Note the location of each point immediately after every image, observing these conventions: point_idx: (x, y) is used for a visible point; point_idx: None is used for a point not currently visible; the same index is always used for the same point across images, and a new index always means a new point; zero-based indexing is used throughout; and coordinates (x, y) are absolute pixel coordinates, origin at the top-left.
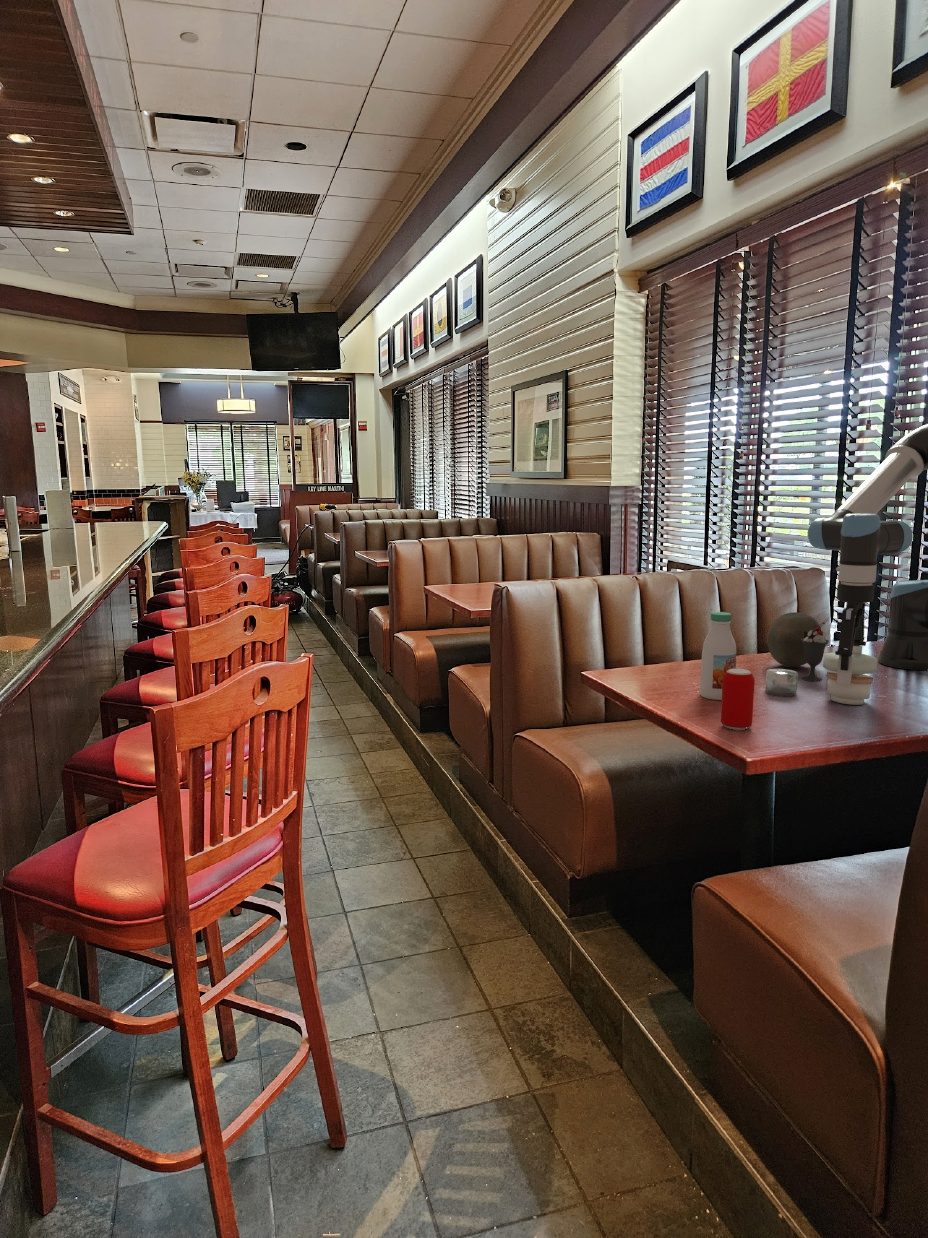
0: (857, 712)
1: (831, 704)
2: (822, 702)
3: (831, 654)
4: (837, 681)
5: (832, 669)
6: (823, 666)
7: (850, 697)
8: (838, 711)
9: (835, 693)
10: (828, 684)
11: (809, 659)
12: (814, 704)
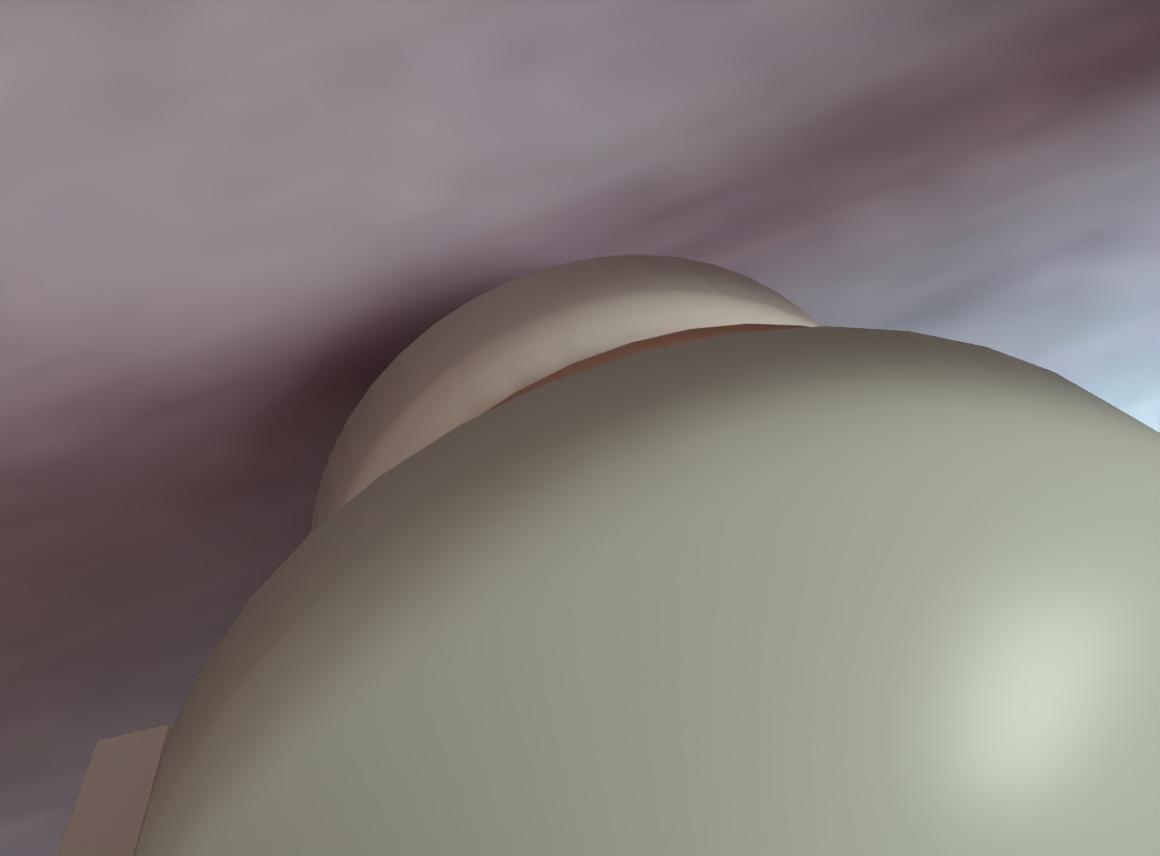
0: None
1: (308, 401)
2: (315, 267)
3: (998, 654)
4: (86, 780)
5: (151, 799)
6: (446, 440)
7: None
8: (31, 598)
9: (319, 517)
10: (440, 398)
11: None
12: (97, 223)
